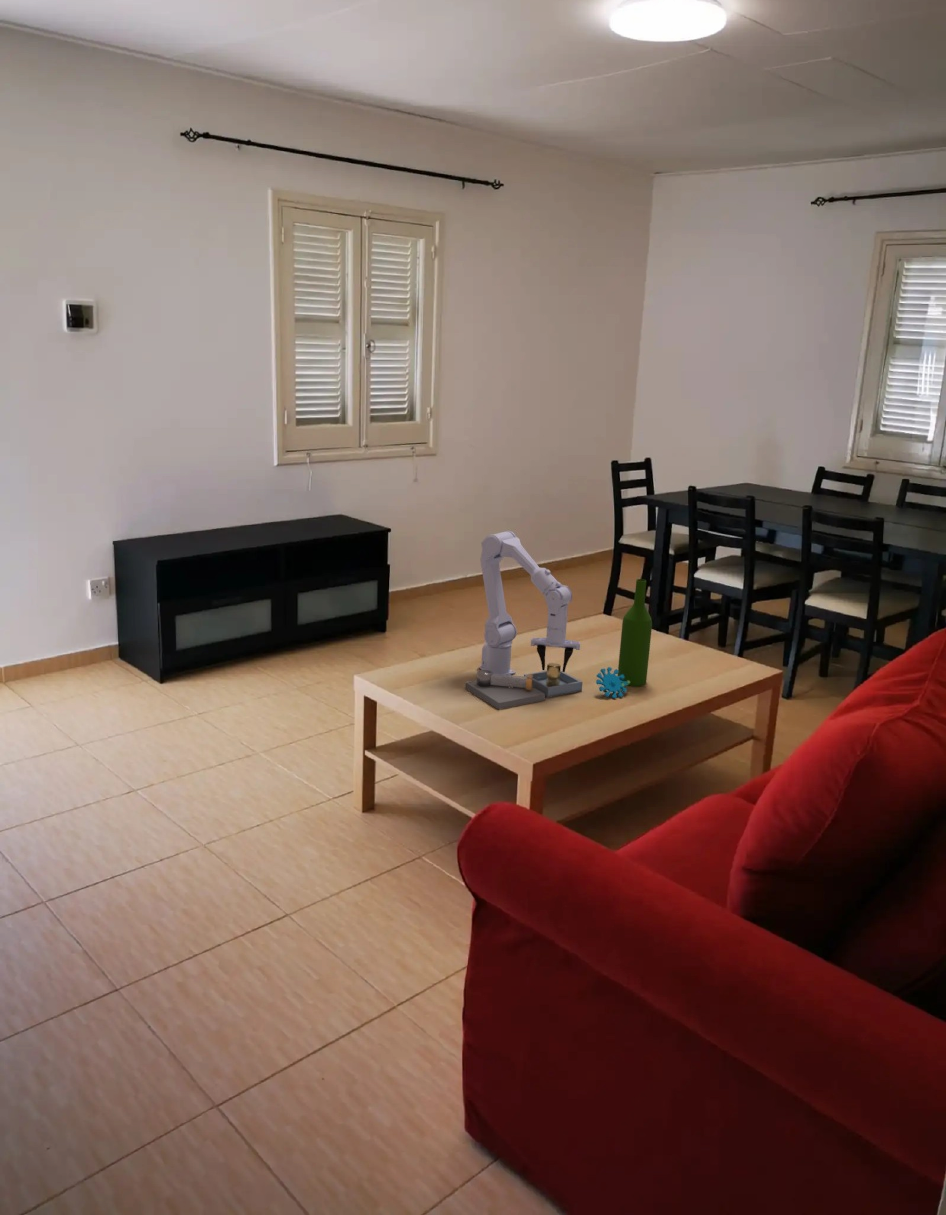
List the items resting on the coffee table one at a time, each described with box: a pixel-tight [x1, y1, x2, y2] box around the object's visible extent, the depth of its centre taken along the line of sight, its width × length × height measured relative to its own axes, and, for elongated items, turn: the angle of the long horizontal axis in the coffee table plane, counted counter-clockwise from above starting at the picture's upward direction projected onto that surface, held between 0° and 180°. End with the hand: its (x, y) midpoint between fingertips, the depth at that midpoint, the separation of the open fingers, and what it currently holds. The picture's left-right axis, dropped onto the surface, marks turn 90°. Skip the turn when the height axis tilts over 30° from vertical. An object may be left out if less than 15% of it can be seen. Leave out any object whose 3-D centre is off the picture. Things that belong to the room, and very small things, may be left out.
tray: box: [523, 669, 583, 699], centre depth 284 cm, size 13×13×3 cm
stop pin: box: [546, 662, 562, 687], centre depth 283 cm, size 4×4×6 cm
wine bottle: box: [617, 578, 653, 688], centre depth 288 cm, size 9×9×32 cm
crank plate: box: [465, 674, 546, 710], centre depth 277 cm, size 18×16×2 cm
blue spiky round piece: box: [595, 666, 630, 699], centre depth 281 cm, size 11×6×10 cm
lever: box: [476, 669, 533, 690], centre depth 277 cm, size 16×5×4 cm, turn 83°
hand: (553, 670), depth 283 cm, fingers open, 5 cm apart
